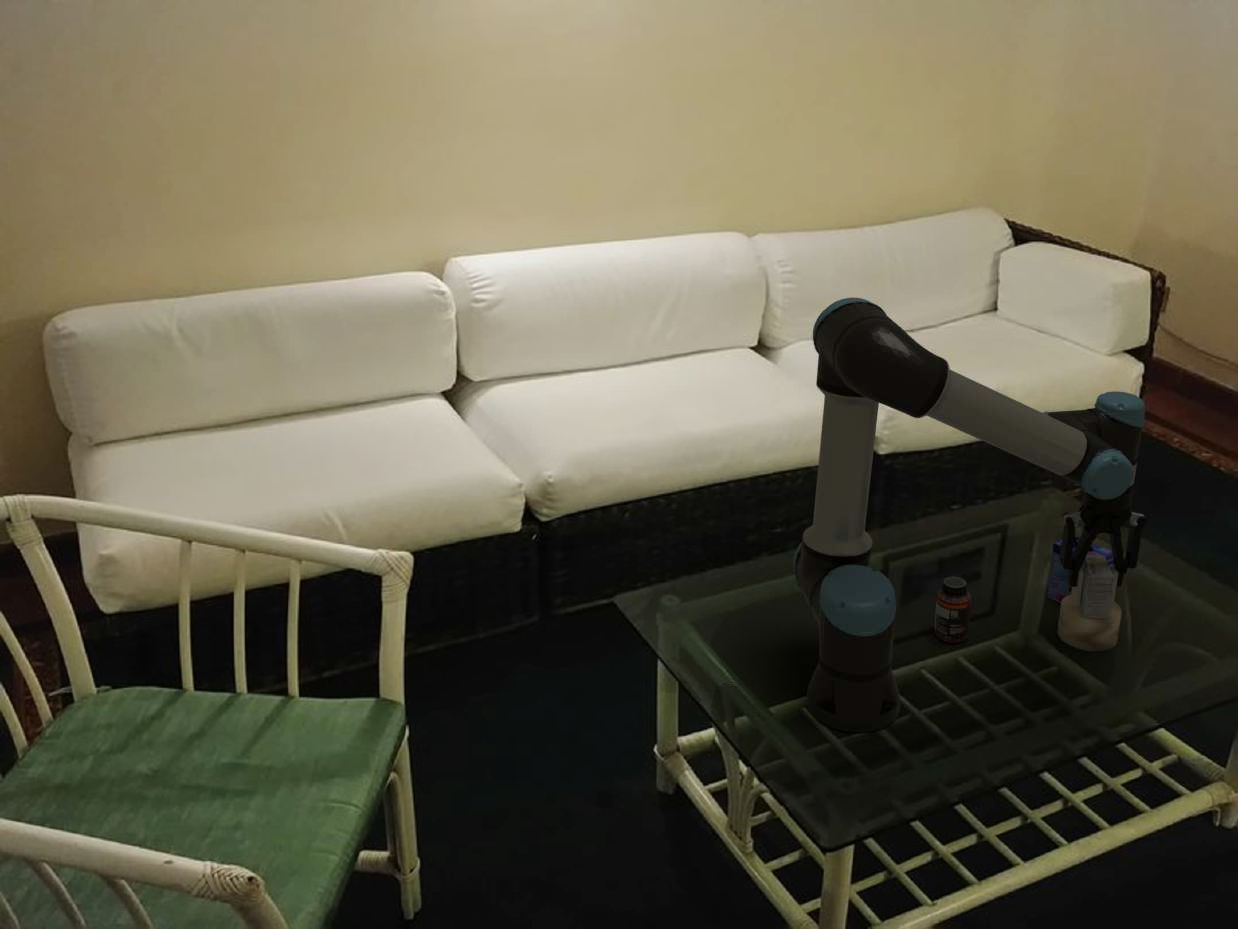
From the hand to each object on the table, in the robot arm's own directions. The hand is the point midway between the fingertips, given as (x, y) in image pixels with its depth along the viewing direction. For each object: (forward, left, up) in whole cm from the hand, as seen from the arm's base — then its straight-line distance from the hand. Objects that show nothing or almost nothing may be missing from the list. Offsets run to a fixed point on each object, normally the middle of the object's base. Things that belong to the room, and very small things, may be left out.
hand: (1091, 600), depth 200 cm
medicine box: (0, 0, -2) cm, 2 cm away
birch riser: (0, 0, -7) cm, 7 cm away
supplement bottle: (-24, 0, -7) cm, 25 cm away
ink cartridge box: (+1, +11, -7) cm, 13 cm away
